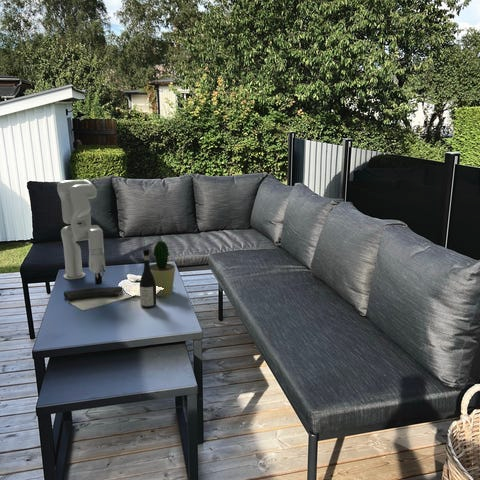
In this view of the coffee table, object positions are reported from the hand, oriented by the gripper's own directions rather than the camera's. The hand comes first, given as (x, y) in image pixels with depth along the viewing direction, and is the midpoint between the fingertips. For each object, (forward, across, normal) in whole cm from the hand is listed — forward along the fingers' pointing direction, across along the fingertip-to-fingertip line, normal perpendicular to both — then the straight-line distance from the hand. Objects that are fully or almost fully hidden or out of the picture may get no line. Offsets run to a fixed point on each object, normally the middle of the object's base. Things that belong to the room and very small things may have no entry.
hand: (98, 284), depth 259 cm
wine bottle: (+7, +30, +11) cm, 33 cm away
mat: (+7, +4, 0) cm, 8 cm away
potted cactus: (+7, +18, +28) cm, 34 cm away
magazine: (+5, -5, 0) cm, 7 cm away
